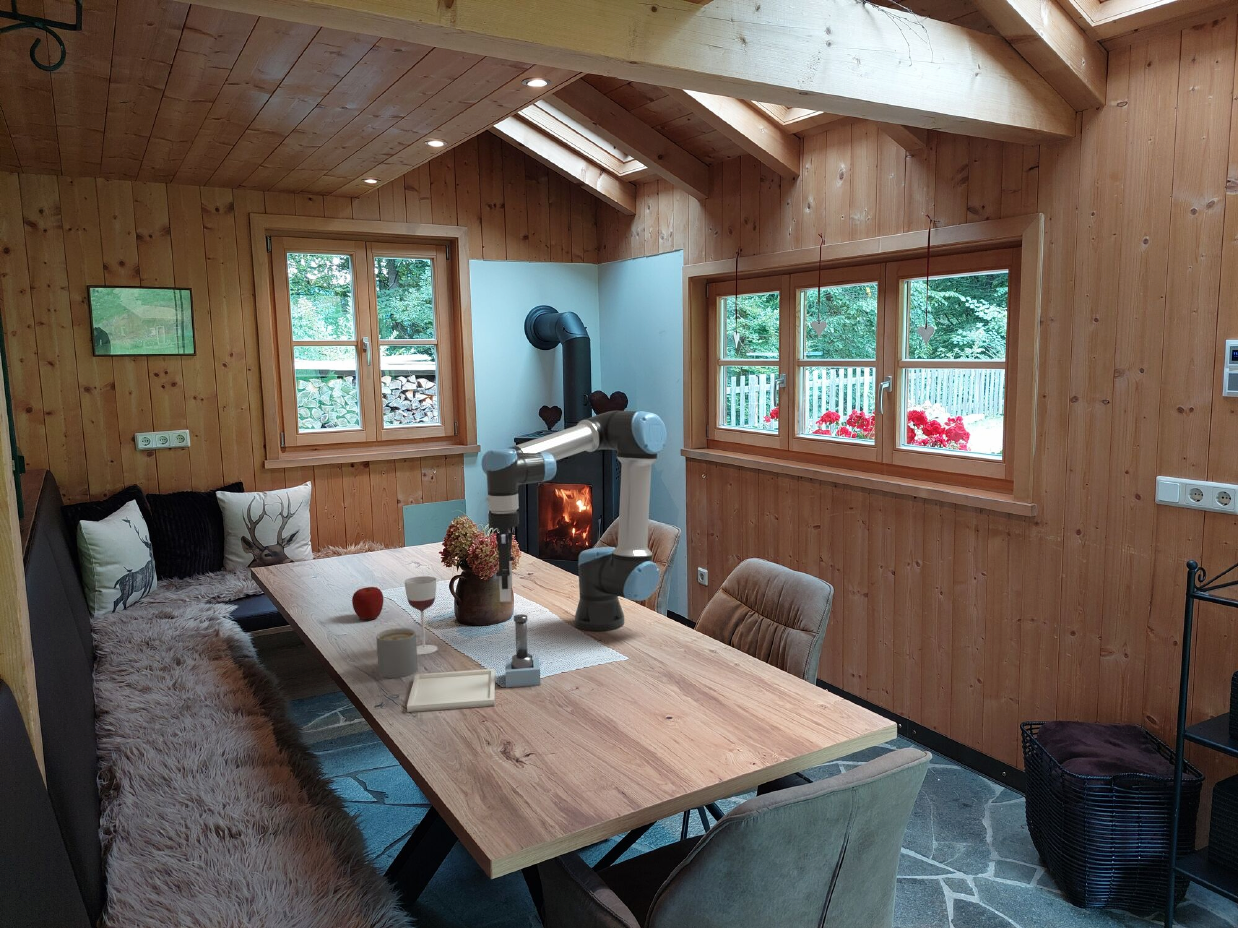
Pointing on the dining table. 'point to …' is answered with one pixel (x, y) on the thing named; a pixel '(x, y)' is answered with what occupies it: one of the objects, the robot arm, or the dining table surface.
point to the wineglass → (421, 602)
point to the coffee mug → (397, 653)
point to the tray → (452, 690)
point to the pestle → (521, 644)
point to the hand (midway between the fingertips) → (506, 593)
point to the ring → (522, 674)
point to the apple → (368, 602)
